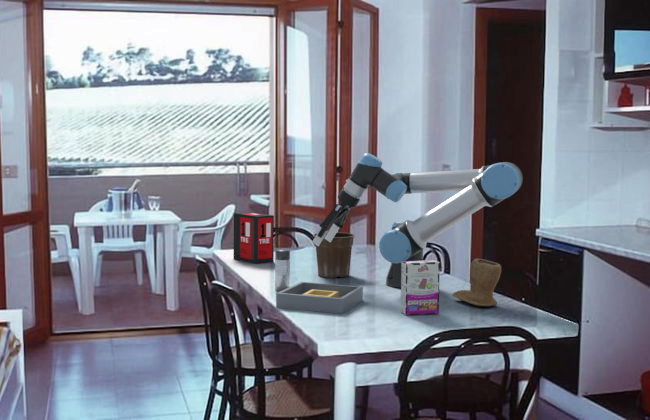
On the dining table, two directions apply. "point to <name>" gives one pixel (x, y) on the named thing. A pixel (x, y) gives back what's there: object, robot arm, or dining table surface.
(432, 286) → the candy bar box
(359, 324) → the dining table surface
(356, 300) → the walled tray
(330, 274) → the plant pot
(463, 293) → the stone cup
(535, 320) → the dining table surface
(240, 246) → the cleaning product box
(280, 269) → the two-tone metal cylinder
